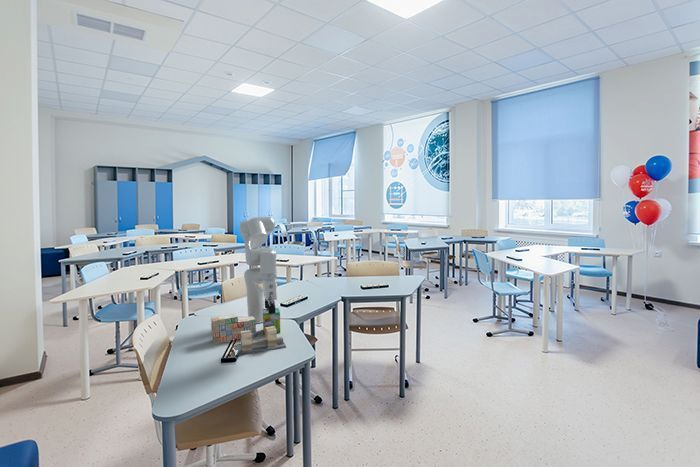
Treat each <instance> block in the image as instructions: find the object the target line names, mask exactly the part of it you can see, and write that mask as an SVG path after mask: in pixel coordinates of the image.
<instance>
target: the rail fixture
mask: <svg viewBox="0 0 700 467" xmlns="http://www.w3.org/2000/svg"><path fill="white" fill-rule="evenodd" d="M240 333H241V339H240V343H237V344H234V345H233V347H234V349H235V350H239V352H238V356H237V357H239V356H244V355H249V354H250V355H251V354H255V353H260V352H261V353H262V352H267V351H273V350H279V349H284V348H287V346H286V344H285V342H284V337H282V336H280V337H277V346H271V347H268V340H266V339H262V340H256V341H253V340H254V339H253V337H252V332H251V331H250V330H247V331H241V332H240Z"/></svg>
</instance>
